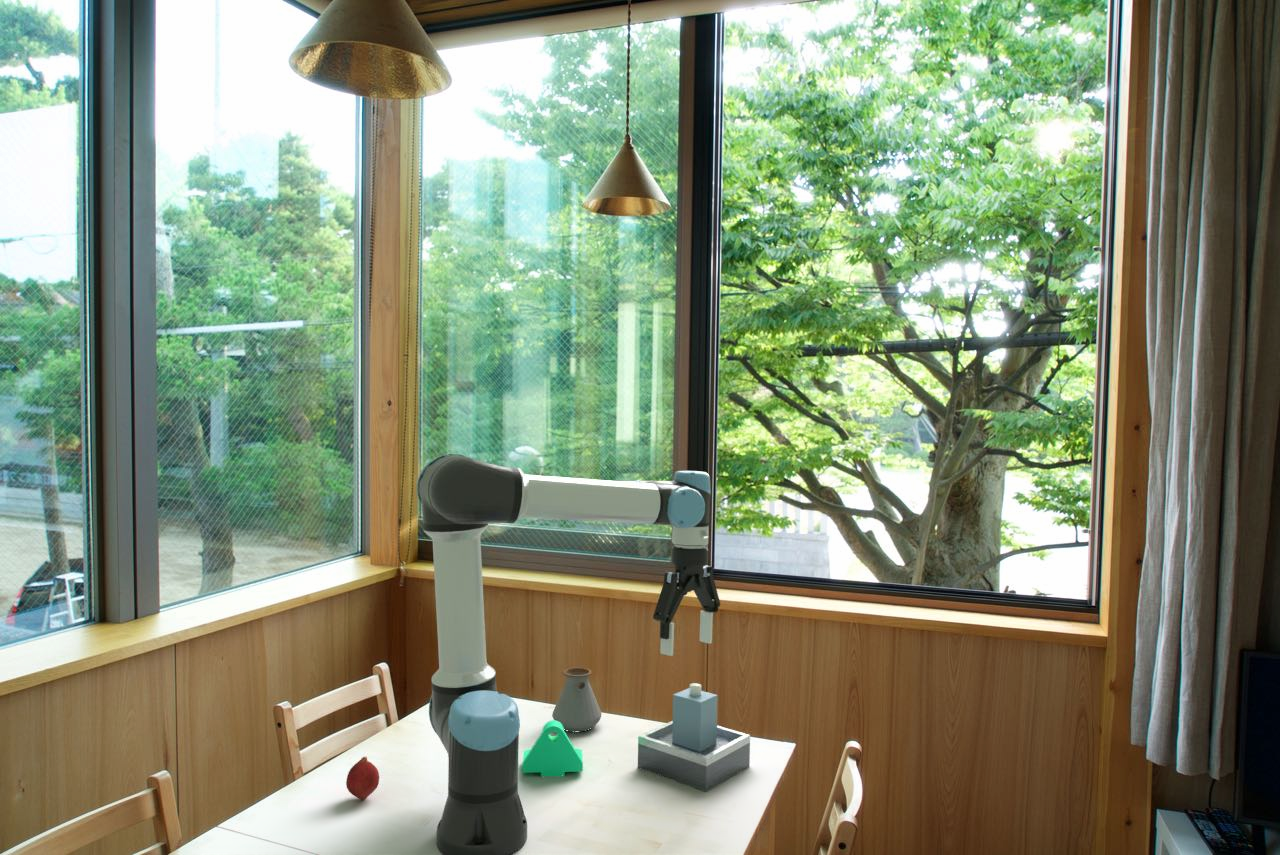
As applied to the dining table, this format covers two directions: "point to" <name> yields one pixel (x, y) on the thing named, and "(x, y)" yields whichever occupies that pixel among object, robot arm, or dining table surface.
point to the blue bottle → (694, 718)
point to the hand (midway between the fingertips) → (686, 648)
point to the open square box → (694, 757)
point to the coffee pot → (577, 702)
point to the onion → (362, 779)
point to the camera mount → (552, 753)
